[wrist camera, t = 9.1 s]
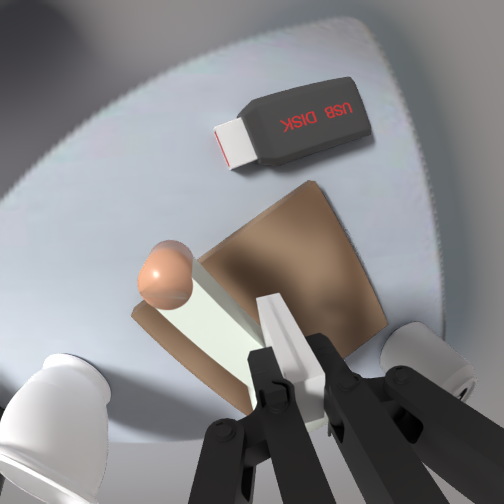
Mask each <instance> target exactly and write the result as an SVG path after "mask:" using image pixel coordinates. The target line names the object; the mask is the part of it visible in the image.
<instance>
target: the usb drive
mask: <svg viewBox="0 0 504 504" xmlns="http://www.w3.org/2000/svg"><path fill="white" fill-rule="evenodd" d="M213 131H214V134H215V136H216V138H217V141H218V143H219V146H220V148H221V151H222V153H223V156H224V158H225V161H226V163H227V165H228V168H229V170H232V169H235V168H237V167H240V166H242V165H245V164H247V163H250V162H253V161H254V162H255V164H261V165H270V166H278V165H282V164H285V163H287V162H290V161H293V160H296V159H298V158H301V157H304V156H307V155H310V154H313V153H316V152H319V151H321V150H324V149H327V148H330V147H334V146H337V145H340V144H343V143H346V142H349V141H352V140H356V139H359V138H362V137H365V136H368V135H371V125H370V122H369V119H368V116H367V114H366V111H365V108H364V105H363V102H362V100H361V97H360V94H359V92H358V89H357V87H356V84H355V82H354V81H353V80H352V79H351V77H343V78H337V79H332V80H327V81H322V82H318V83H313V84H309V85H305V86H300V87H296V88H292V89H289V90H285V91H281V92H278V93H274V94H271V95H267V96H264V97H260V98H257V99H254V100H252V101H251V102H250V103H249V104H248V105H247V106H246V107H245V108H244V109H243V110H242V111H241V112H240V113H239V114H238V116H237V119H234V120H232V121H229V122H226V123H223V124H221V125H218V126H216V127H214V128H213Z"/></svg>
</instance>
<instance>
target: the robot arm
mask: <svg viewBox="0 0 504 504" xmlns="http://www.w3.org/2000/svg"><path fill="white" fill-rule="evenodd" d="M256 301H257V306H258V312H259V317H260V323H261V328H262V334H263V339H264V342H265V345H266V347H265V348H261V349H257V350H252V351H250V353H249V355H248V358H247V361H248V365H249V369H250V373H251V377H252V382H253V386H254V390H255V396H256V400H257V404H256V407H255V409H254V411H253V412H252V413H251V414H249V415H248V416H246V417H244V418H242V419H240V420H238V421H236V420H235V419H229V418H226V419H220V420H217V421H215V422H213V423H212V424H211V425H210V426H209V427H208V429H207V431H206V433H205V437H204V441H203V445H202V449H201V454H200V457H199V461H198V465H197V469H196V474H195V477H194V481H193V485H192V489H191V493H190V497H189V502H188V504H252V502H253V492H254V483H255V473H256V465H257V464H259V463H261V462H263V461H265V460H267V459H269V458H271V459H272V464H273V467H274V471H275V475H276V479H277V482H278V486H279V490H280V493H281V497H282V501H283V504H336V502H335V499H334V496H333V494H332V492H331V489H330V487H329V484H328V482H327V479H326V477H325V474H324V472H323V469H322V467H321V464H320V462H319V459H318V457H317V454H316V451H315V449H314V447H313V444H312V441H311V439H310V436H309V434H308V431H307V429H306V426H305V423H309V422H312V421H315V420H318V419H321V418H324V414H325V412H326V415H327V417H328V436H331V433H332V435H333V437H334V439H335V440H336V443H337V445H338V447H339V449H340V451H341V453H342V455H343V457H344V459H345V461H346V463H347V465H348V467H349V469H350V471H351V473H352V475H353V477H354V479H355V482H356V484H357V486H358V488H359V489H360V492H361V493H362V496H363V497H364V500H365V502H366V504H450V503H449V502H448V500H447V499H446V497H445V496H444V494H443V493H442V491H441V490H440V488H439V487H438V485H437V484H436V482H435V481H434V479H433V478H432V476H431V475H430V473H429V472H428V471H427V469H426V468H425V466H424V465H423V463H424V464H425V465H426V466H428V467H429V468H430V469H431V470H433V471H434V472H435V473H436V474H438V475H439V476H440V477H441V478H442V479H444V480H445V481H446V482H447V483H449V484H450V485H451V486H452V487H454V488H455V489H456V490H458V491H459V492H460V493H461V494H463V495H464V496H465V497H467V498H468V499H469V500H471V501H472V502H473V503H475V504H504V428H502V427H500V426H499V425H497V424H496V423H494V422H492V421H491V420H490V419H488V418H487V417H485V416H483V415H482V414H481V413H479V412H478V411H476V410H474V409H473V408H471V407H470V406H468V405H467V404H465V403H464V402H462V401H461V400H459V399H458V398H456V397H455V396H453V395H452V394H450V393H449V392H447V391H446V390H444V389H443V388H441V387H440V386H438V385H437V384H435V383H434V382H432V381H431V380H429V379H428V378H426V377H425V376H423V375H422V374H420V373H419V372H417V371H416V370H414V369H413V368H411V367H408V366H404V365H399V366H394V367H392V368H390V369H389V370H388V371H387V372H386V375H385V377H378V378H362V377H361V376H360V375H359V374H356V373H354V372H352V371H351V370H350V369H349V367H348V366H347V364H346V363H345V361H344V360H343V358H342V357H341V355H340V354H339V353H338V351H337V350H336V348H335V347H334V346H333V344H332V342H331V341H330V339H329V338H328V337H327V336H325V335H323V334H322V333H316V334H313V335H309V336H305V337H304V336H303V334H302V332H301V330H300V329H299V327H298V325H297V323H296V321H295V320H294V318H293V316H292V314H291V313H290V311H289V309H288V307H287V306H286V304H285V302H284V300H283V298H282V297H281V295H280V293H276V294H272V295H267V296H263V297H258V298H256ZM3 413H4V410H3V409H1V408H0V421H1V418H2V416H3ZM421 461H422V462H423V463H422V462H421ZM5 478H6V477H4V476H3V475H2V474H1V473H0V495H1V491H2V488H3V484H4V480H5Z"/></svg>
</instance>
